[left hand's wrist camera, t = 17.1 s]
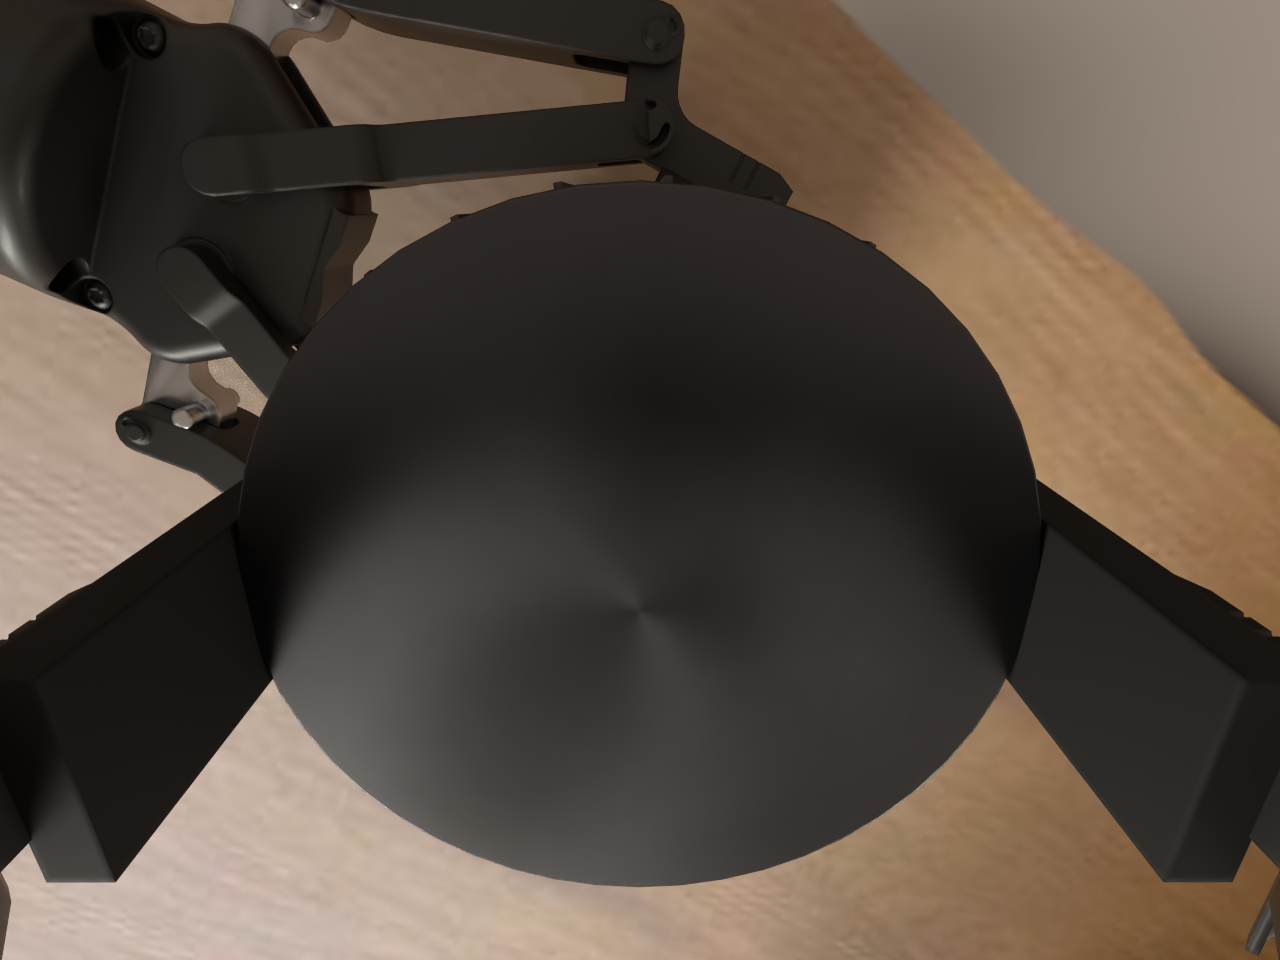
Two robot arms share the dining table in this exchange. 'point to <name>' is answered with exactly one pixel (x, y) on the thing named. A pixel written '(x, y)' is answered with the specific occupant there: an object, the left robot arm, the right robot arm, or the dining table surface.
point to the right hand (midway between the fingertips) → (765, 472)
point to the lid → (639, 533)
